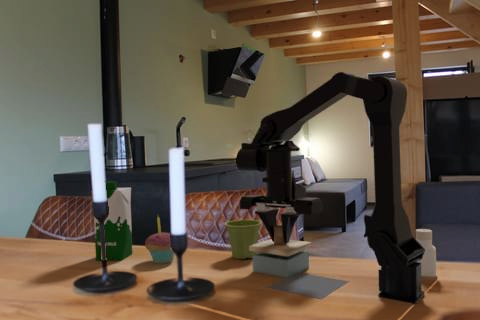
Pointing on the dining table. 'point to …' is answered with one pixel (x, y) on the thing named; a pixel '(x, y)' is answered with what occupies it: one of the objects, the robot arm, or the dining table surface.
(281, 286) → the mat
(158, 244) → the cupcake
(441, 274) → the dining table surface
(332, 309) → the dining table surface
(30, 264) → the dining table surface
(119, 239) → the milk carton
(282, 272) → the open box
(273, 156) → the robot arm
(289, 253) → the lid
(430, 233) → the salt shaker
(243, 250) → the plant pot
